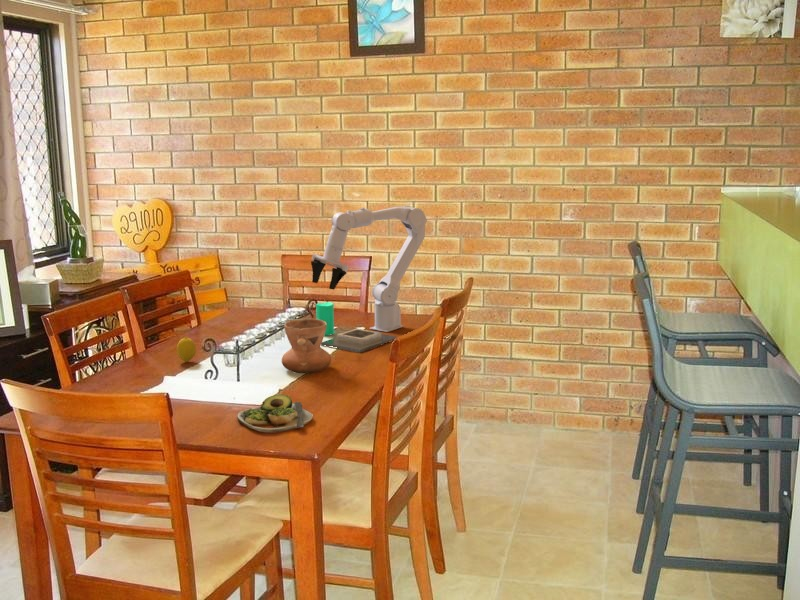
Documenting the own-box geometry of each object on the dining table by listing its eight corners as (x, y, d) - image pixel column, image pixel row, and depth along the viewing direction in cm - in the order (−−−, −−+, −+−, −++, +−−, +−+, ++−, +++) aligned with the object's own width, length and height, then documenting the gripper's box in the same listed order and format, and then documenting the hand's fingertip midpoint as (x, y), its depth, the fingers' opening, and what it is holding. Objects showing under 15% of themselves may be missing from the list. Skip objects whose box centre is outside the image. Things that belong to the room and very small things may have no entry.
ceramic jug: (327, 378, 242) (326, 330, 240) (276, 378, 243) (274, 329, 240) (335, 361, 260) (334, 315, 257) (288, 360, 261) (287, 315, 258)
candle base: (358, 333, 294) (358, 324, 293) (396, 339, 285) (396, 330, 284) (321, 345, 278) (320, 336, 277) (360, 352, 269) (359, 343, 268)
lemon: (186, 358, 263) (185, 333, 261) (200, 361, 260) (198, 336, 259) (173, 363, 258) (172, 337, 257) (187, 365, 256) (185, 339, 254)
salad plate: (331, 426, 206) (331, 408, 205) (264, 442, 196) (263, 423, 195) (294, 405, 221) (293, 388, 220) (229, 418, 211) (228, 401, 210)
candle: (335, 331, 296) (334, 297, 294) (332, 336, 290) (331, 301, 288) (318, 331, 297) (317, 297, 294) (315, 335, 291) (314, 301, 288)
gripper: (311, 240, 288) (299, 278, 289) (344, 251, 280) (332, 290, 281) (323, 243, 294) (312, 280, 295) (356, 254, 286) (344, 292, 287)
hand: (323, 285), depth 289 cm, fingers open, 7 cm apart
